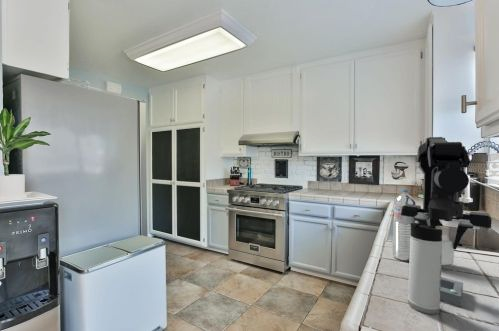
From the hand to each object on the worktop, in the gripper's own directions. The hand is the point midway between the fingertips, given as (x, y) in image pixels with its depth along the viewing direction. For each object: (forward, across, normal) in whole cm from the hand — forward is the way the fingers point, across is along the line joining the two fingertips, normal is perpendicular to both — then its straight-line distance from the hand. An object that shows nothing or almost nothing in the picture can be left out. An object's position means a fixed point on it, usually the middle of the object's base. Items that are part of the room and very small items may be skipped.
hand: (441, 246), depth 68 cm
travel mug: (+12, -2, -12) cm, 18 cm away
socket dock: (+12, 0, -1) cm, 12 cm away
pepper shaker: (+4, 0, 0) cm, 4 cm away
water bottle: (+12, -13, +21) cm, 28 cm away
